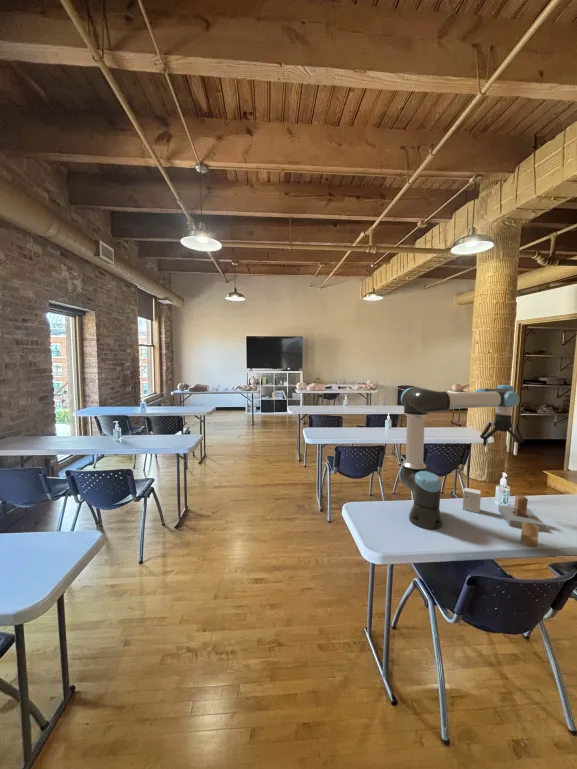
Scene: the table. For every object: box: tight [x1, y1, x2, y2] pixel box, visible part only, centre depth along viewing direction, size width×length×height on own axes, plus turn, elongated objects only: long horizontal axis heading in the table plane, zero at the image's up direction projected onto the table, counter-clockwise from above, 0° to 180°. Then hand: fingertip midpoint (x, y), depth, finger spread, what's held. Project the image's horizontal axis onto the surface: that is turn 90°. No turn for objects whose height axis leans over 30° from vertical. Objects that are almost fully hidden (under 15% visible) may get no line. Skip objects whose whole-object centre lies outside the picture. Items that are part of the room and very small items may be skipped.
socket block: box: [498, 504, 545, 532], centre depth 170 cm, size 14×18×3 cm
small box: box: [462, 487, 482, 514], centre depth 180 cm, size 8×6×10 cm
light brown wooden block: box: [520, 522, 540, 548], centre depth 148 cm, size 6×6×8 cm
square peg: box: [514, 494, 529, 517], centre depth 169 cm, size 4×4×12 cm
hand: (500, 453), depth 181 cm, fingers open, 13 cm apart
